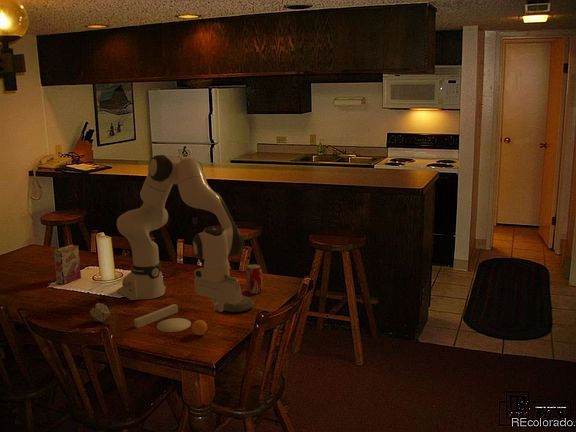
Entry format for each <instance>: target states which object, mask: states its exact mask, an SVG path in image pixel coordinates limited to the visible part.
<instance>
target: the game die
mask: <svg viewBox="0 0 576 432" xmlns="http://www.w3.org/2000/svg"><path fill="white" fill-rule="evenodd" d="M109 307H110V306H109V305H108V302H106V303H102V302H99V301H98V300H96V304H95V305H93V307H91V309H90V310H87V312H89V314H90V315H91V320H93V322H92V323H95V322H99V323H102V325H104V324H105V321H106V320H107V319H108V318H109V317H110V316H111V315H114V313H111V310H110V308H109Z"/></svg>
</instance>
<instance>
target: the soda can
mask: <svg viewBox="0 0 576 432" xmlns="http://www.w3.org/2000/svg"><path fill="white" fill-rule="evenodd" d="M246 267H247V268H246V271H245V279H246V283H245V284H246V292H248V293H249V294H253V295H257V294H258V295H259V294H260V293H261V292H262V291H263V269H262V267H261V265H260V264H256V263H252V264H248V265H247V266H246Z"/></svg>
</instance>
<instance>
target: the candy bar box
mask: <svg viewBox="0 0 576 432" xmlns="http://www.w3.org/2000/svg"><path fill="white" fill-rule="evenodd" d="M53 257H54V260H53V261H54V267H55V280H56V281H55V282H56V284H57V285H62V286H63V285H67V284H69V283H71V282H74V281H77V280H79V279H81V278H82V273H81V260H80V247H79V245H77V244H69V245H66V246H63V247H60V248H56V249H53Z"/></svg>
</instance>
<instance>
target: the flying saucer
mask: <svg viewBox="0 0 576 432" xmlns="http://www.w3.org/2000/svg"><path fill="white" fill-rule="evenodd" d="M218 304H220V303H219V302H218ZM254 306H255V301H254V300H253V299H252V298H250V297H249V296H246V295H243V294H242V300H241V302H240V303H238V304H235V305H234V304H230V303H227V302H225V304H224V306H223V312H224V311H225V312H230V313H240V312H245V311H249V310H251V309H252V308H254Z"/></svg>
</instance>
